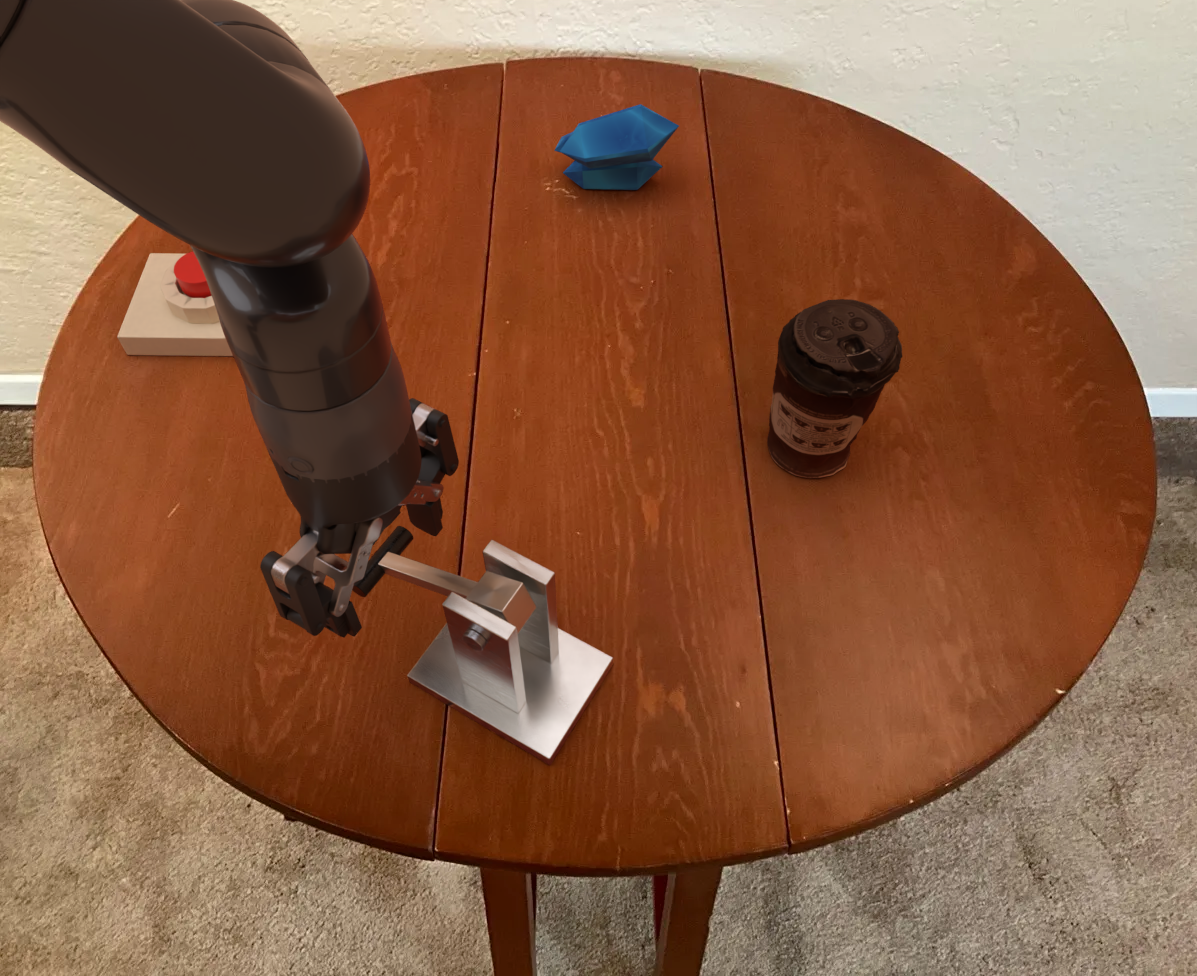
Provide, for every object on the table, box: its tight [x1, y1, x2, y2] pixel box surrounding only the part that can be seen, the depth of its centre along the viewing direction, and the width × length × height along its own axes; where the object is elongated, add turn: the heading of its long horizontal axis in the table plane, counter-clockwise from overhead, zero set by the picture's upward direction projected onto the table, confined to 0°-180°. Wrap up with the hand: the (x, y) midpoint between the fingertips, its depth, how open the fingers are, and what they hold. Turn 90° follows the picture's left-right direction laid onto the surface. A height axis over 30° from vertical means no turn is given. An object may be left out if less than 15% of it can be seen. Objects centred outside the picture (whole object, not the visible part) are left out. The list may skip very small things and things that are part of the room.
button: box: [174, 250, 212, 298], centre depth 79 cm, size 4×4×2 cm
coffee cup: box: [766, 298, 903, 479], centre depth 70 cm, size 9×8×13 cm
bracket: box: [406, 539, 614, 766], centre depth 59 cm, size 11×8×12 cm
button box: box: [117, 252, 233, 357], centre depth 81 cm, size 13×10×4 cm
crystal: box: [554, 103, 680, 191], centre depth 90 cm, size 7×9×12 cm
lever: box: [352, 525, 536, 633], centre depth 59 cm, size 12×5×2 cm, turn 60°
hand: (387, 575), depth 62 cm, fingers open, 8 cm apart
